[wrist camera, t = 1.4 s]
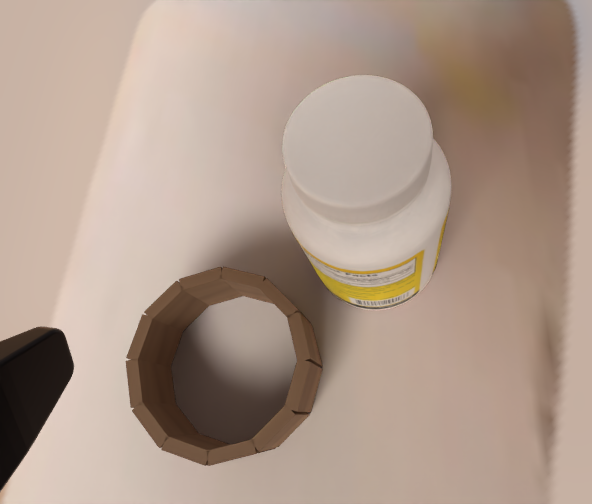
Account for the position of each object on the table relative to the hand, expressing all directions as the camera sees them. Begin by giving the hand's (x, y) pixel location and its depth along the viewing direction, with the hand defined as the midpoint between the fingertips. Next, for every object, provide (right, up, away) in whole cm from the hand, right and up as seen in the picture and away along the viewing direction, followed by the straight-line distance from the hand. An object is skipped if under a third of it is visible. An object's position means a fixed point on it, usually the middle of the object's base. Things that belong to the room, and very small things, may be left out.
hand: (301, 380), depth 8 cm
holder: (-3, -3, +13) cm, 14 cm away
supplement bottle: (+3, +2, +14) cm, 14 cm away
